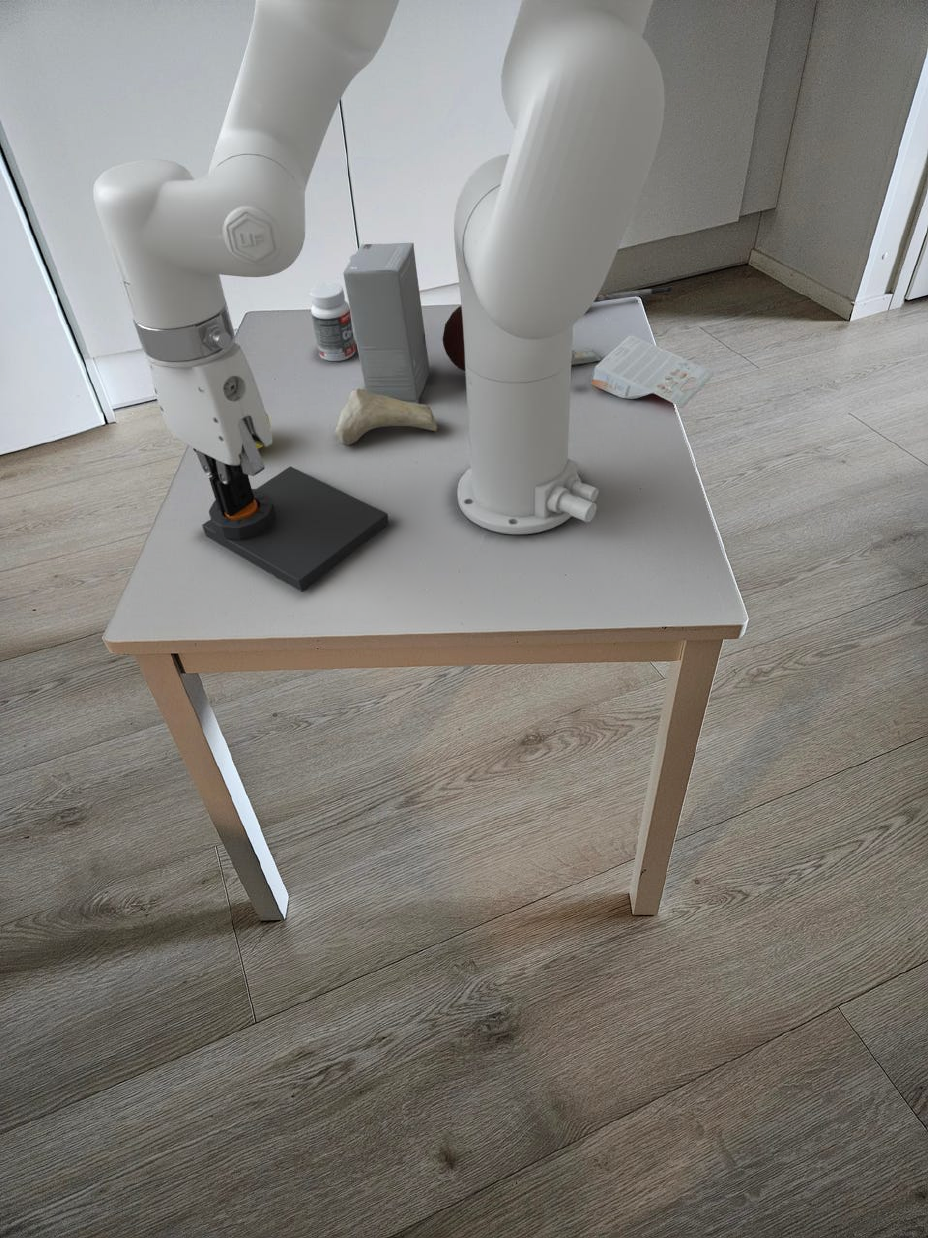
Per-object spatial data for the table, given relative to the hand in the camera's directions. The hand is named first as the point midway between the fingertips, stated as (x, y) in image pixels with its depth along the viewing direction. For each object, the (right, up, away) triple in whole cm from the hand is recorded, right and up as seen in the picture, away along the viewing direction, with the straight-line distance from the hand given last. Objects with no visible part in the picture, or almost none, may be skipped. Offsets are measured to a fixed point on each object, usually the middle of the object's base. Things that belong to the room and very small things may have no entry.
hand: (237, 506), depth 85 cm
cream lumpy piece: (+14, +10, +13) cm, 21 cm away
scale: (+5, -2, +2) cm, 6 cm away
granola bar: (+35, +22, +22) cm, 47 cm away
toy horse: (+36, +19, +20) cm, 45 cm away
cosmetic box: (+14, +17, +21) cm, 30 cm away
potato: (+26, +19, +21) cm, 38 cm away
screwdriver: (+39, +30, +30) cm, 57 cm away
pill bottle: (+6, +23, +27) cm, 36 cm away
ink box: (+39, +20, +19) cm, 48 cm away
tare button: (0, -1, +1) cm, 2 cm away
